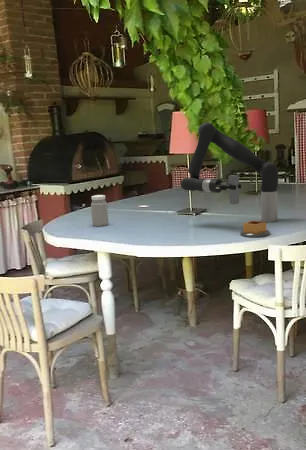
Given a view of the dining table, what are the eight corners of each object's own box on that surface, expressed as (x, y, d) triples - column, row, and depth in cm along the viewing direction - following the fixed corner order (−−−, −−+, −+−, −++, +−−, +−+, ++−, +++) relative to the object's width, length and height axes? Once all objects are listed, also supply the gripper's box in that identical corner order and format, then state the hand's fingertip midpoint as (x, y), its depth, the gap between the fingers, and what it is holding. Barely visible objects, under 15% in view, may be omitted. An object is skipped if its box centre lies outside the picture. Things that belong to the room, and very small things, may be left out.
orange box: (234, 235, 274) (234, 223, 273) (250, 230, 285) (250, 218, 284) (259, 238, 264) (259, 226, 263) (275, 233, 274) (275, 221, 273)
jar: (98, 223, 331) (96, 194, 327) (111, 223, 326) (109, 194, 323) (89, 226, 322) (87, 197, 319) (103, 226, 318) (100, 197, 314)
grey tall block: (229, 203, 284) (228, 175, 281) (233, 202, 286) (232, 174, 283) (235, 204, 281) (234, 176, 278) (239, 203, 284) (238, 175, 281)
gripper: (204, 180, 286) (230, 181, 274) (220, 177, 296) (245, 178, 284) (204, 194, 287) (230, 196, 276) (220, 190, 297) (246, 192, 286)
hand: (238, 187), depth 280 cm, fingers closed on grey tall block, 4 cm apart
